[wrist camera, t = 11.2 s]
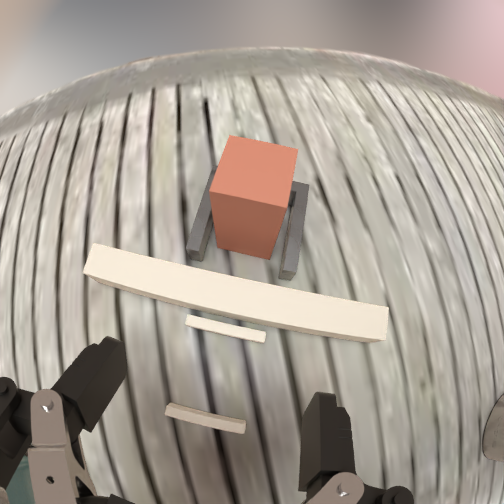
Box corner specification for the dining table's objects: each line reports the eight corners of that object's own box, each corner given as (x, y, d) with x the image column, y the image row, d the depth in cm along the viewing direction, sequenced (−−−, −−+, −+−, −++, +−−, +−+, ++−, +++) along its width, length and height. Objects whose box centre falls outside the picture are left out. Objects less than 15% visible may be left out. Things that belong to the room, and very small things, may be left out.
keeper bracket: (303, 199, 27) (309, 184, 24) (290, 280, 24) (296, 272, 21) (215, 181, 27) (213, 165, 24) (190, 259, 24) (186, 248, 22)
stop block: (279, 213, 26) (298, 149, 17) (269, 259, 24) (287, 208, 16) (230, 202, 26) (229, 135, 18) (217, 247, 24) (209, 190, 16)
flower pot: (-4, 425, 16) (-60, 430, 8) (52, 450, 17) (-6, 471, 8) (10, 489, 13) (-36, 506, 5) (67, 517, 14) (24, 550, 5)
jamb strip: (372, 313, 23) (388, 307, 20) (349, 439, 19) (363, 449, 16) (107, 255, 24) (93, 242, 21) (75, 375, 20) (57, 375, 17)
